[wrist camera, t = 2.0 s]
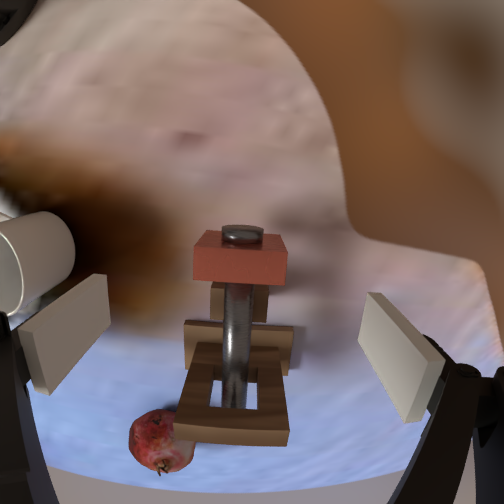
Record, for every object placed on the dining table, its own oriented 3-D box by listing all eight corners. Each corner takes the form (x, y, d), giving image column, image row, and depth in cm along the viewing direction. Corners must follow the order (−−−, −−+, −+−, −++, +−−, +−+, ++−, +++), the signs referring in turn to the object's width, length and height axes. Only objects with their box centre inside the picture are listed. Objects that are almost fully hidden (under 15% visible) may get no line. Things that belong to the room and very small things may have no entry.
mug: (92, 241, 33) (36, 270, 22) (61, 295, 35) (9, 333, 24) (29, 180, 31) (-34, 187, 21) (3, 235, 33) (-54, 256, 22)
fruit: (131, 428, 40) (111, 476, 30) (146, 388, 38) (123, 439, 28) (187, 451, 41) (177, 501, 31) (210, 414, 39) (201, 470, 29)
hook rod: (207, 219, 28) (193, 234, 21) (280, 224, 28) (289, 239, 22) (205, 398, 32) (197, 439, 26) (263, 401, 33) (265, 444, 26)
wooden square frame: (185, 320, 35) (151, 401, 21) (292, 326, 36) (313, 412, 21) (187, 363, 37) (159, 450, 23) (286, 370, 37) (300, 460, 23)
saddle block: (218, 266, 34) (210, 287, 28) (265, 269, 34) (268, 291, 28) (217, 293, 35) (210, 319, 28) (263, 296, 35) (266, 322, 28)
